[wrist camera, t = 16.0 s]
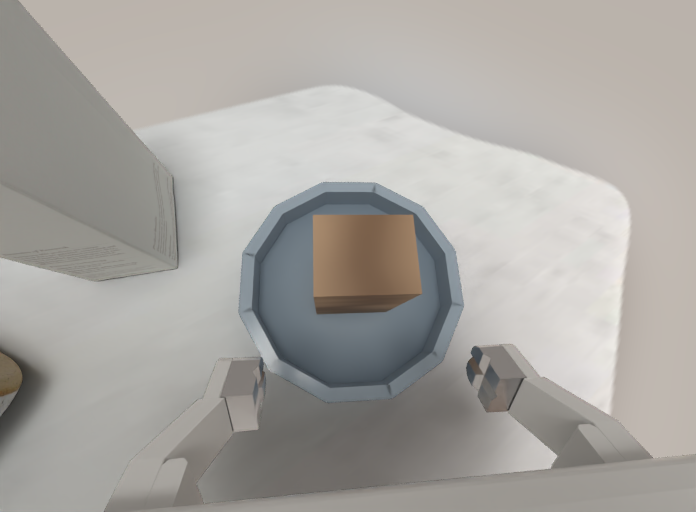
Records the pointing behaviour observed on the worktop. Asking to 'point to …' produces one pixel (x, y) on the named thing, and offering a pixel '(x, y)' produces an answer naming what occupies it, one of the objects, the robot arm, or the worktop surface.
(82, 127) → the skincare box
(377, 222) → the walnut block
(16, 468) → the worktop surface
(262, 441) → the worktop surface
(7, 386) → the ceramic mug
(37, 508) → the worktop surface
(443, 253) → the slate bowl
